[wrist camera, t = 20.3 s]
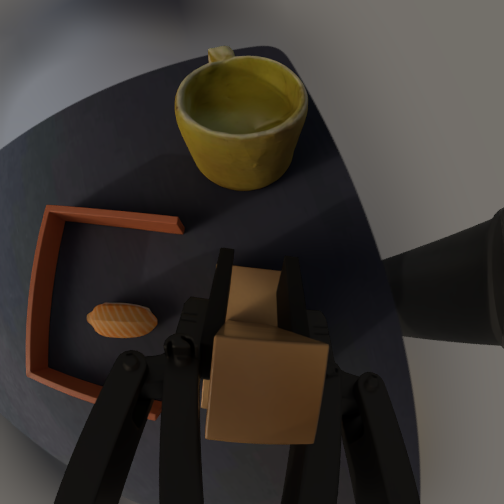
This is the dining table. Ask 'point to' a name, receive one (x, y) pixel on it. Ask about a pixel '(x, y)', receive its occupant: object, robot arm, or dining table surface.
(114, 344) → the dining table surface
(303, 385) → the brown boxy piece
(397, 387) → the dining table surface
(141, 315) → the sushi
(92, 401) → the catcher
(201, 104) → the mug
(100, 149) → the dining table surface
